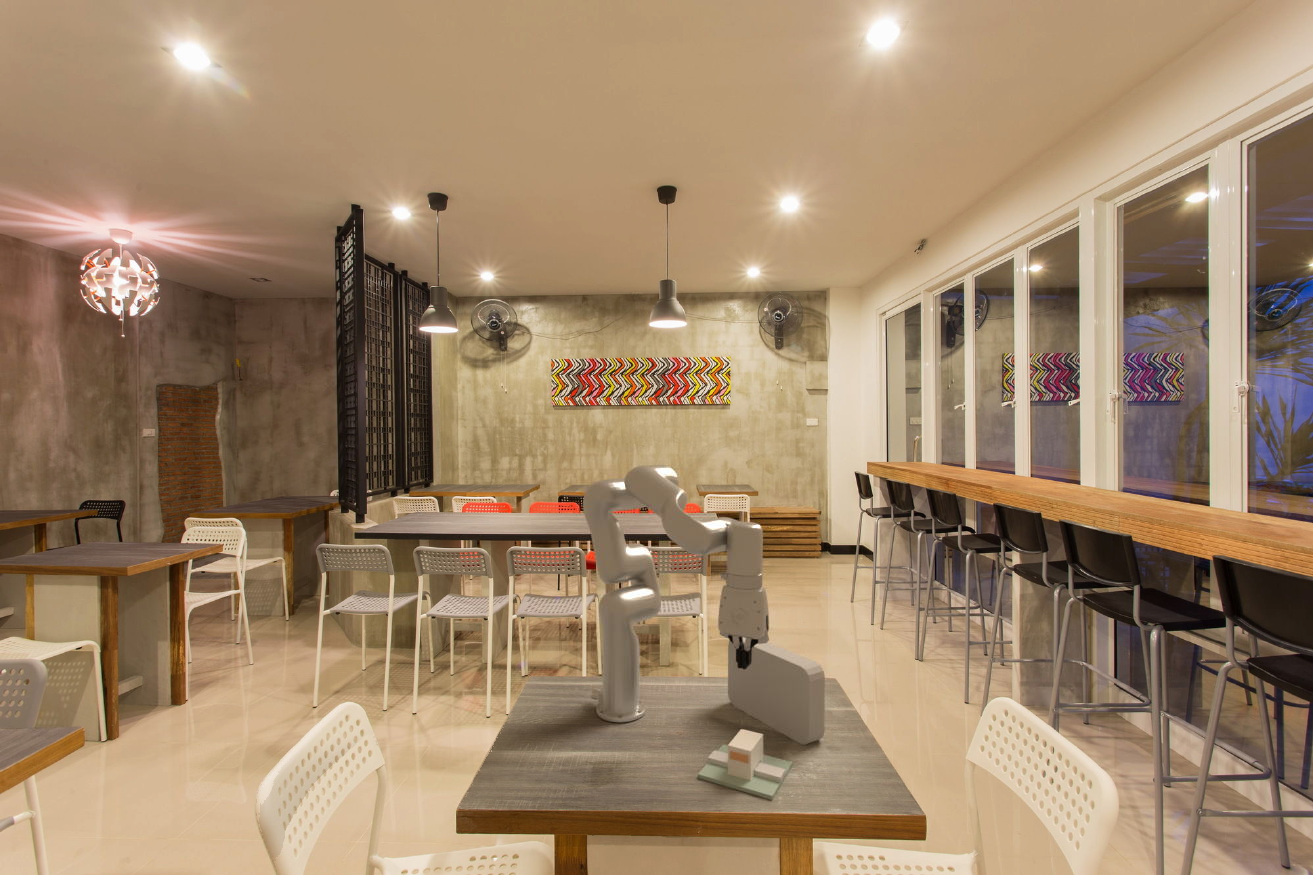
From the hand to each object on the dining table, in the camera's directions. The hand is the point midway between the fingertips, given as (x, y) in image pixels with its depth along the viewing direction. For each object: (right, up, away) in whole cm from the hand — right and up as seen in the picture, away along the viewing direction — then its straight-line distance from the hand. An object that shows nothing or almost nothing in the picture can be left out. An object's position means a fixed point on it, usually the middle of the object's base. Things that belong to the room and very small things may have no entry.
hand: (743, 666), depth 128 cm
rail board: (0, -22, -1) cm, 22 cm away
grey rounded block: (+11, -22, +22) cm, 33 cm away
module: (0, -21, -1) cm, 21 cm away
